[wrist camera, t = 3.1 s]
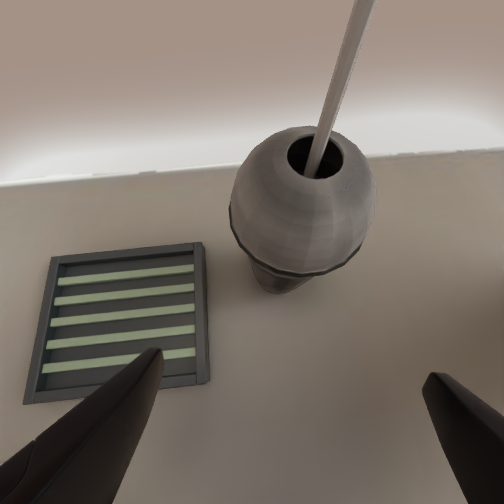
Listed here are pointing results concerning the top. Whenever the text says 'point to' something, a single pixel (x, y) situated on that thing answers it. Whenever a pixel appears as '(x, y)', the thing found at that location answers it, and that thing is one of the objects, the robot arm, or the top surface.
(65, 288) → the drying rack
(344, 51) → the beverage cup
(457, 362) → the top surface
